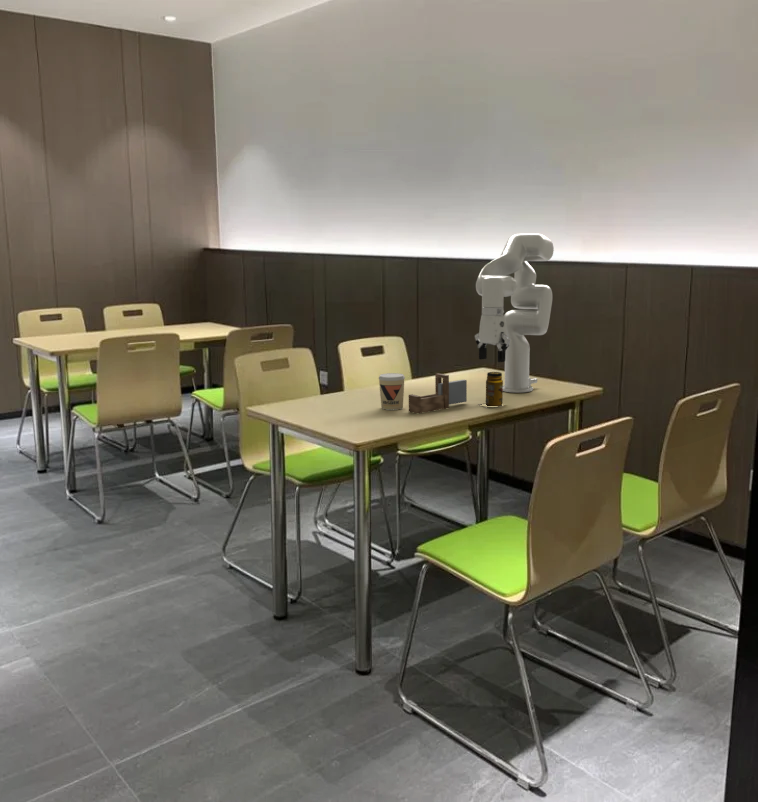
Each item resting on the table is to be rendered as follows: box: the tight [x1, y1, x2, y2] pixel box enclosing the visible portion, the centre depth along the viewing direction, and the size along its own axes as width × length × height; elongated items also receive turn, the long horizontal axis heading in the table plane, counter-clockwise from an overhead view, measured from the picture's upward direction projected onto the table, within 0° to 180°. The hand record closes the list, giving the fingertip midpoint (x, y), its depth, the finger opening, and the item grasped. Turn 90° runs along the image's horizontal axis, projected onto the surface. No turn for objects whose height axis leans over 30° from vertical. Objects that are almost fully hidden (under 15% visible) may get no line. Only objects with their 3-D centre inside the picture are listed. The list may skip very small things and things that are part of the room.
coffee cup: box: [378, 372, 406, 411], centre depth 283 cm, size 9×9×12 cm
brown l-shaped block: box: [408, 372, 450, 414], centre depth 278 cm, size 14×6×12 cm, turn 125°
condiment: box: [477, 371, 504, 409], centre depth 283 cm, size 7×8×12 cm
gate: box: [438, 379, 468, 406], centre depth 285 cm, size 12×2×8 cm, turn 125°
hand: (491, 360), depth 281 cm, fingers open, 9 cm apart
